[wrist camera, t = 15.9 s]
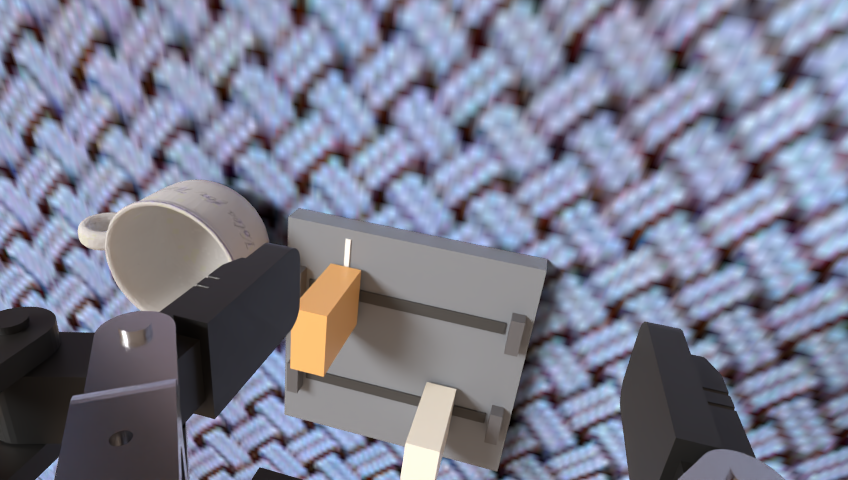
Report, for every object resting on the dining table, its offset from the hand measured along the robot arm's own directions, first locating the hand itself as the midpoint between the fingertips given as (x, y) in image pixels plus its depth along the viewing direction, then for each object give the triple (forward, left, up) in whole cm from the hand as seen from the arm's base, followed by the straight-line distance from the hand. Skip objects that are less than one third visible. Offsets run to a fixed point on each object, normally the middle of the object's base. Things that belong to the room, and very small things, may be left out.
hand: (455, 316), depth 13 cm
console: (+6, +21, -27) cm, 35 cm away
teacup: (+24, +14, -28) cm, 39 cm away
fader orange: (+11, +16, -25) cm, 32 cm away
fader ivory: (+2, +25, -25) cm, 35 cm away
